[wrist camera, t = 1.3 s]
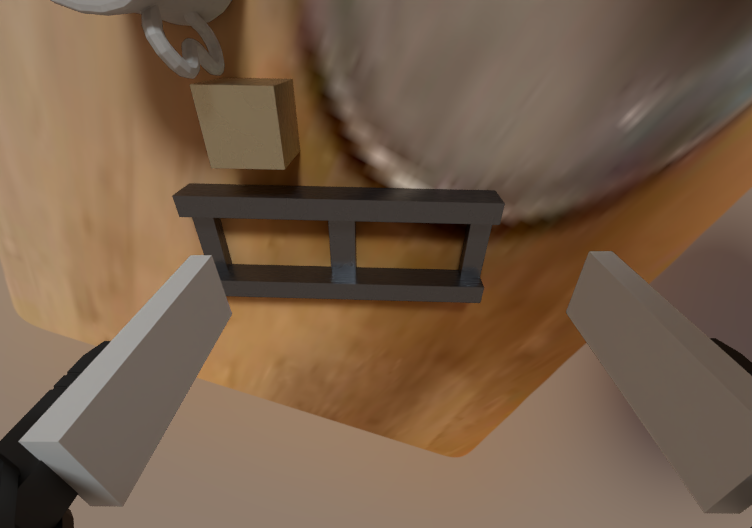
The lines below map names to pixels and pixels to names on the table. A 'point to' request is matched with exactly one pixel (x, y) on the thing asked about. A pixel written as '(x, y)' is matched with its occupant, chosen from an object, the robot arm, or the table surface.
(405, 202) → the rail
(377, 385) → the table surface
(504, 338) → the table surface
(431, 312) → the table surface
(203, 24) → the mug
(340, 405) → the table surface
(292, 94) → the brushed top tan cube
